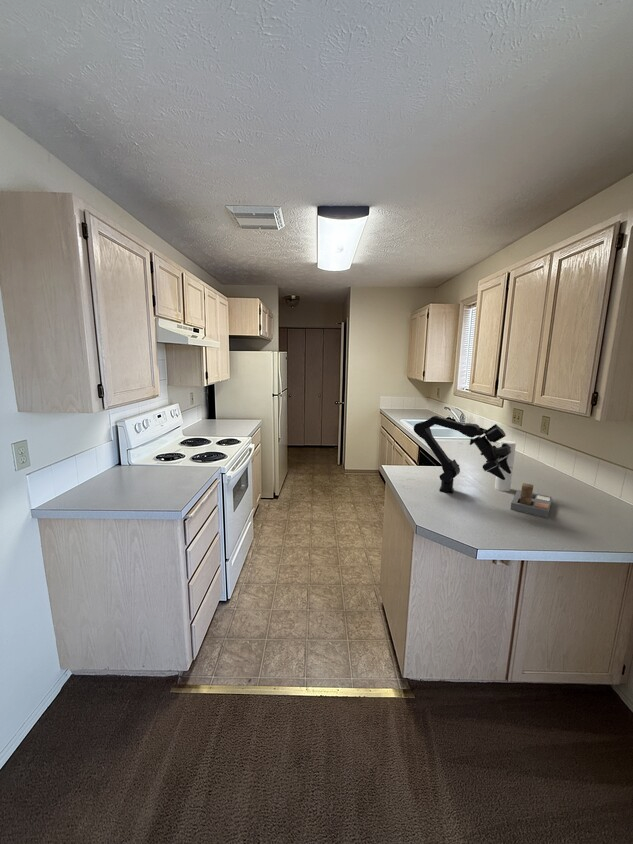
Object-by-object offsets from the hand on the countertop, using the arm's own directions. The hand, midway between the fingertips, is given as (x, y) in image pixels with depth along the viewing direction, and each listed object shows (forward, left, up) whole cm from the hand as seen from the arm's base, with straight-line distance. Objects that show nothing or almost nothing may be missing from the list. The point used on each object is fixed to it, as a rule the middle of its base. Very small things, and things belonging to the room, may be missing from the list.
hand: (507, 476), depth 158 cm
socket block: (-3, +11, -13) cm, 18 cm away
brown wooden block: (+1, +8, -13) cm, 16 cm away
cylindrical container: (-22, 0, -13) cm, 26 cm away
